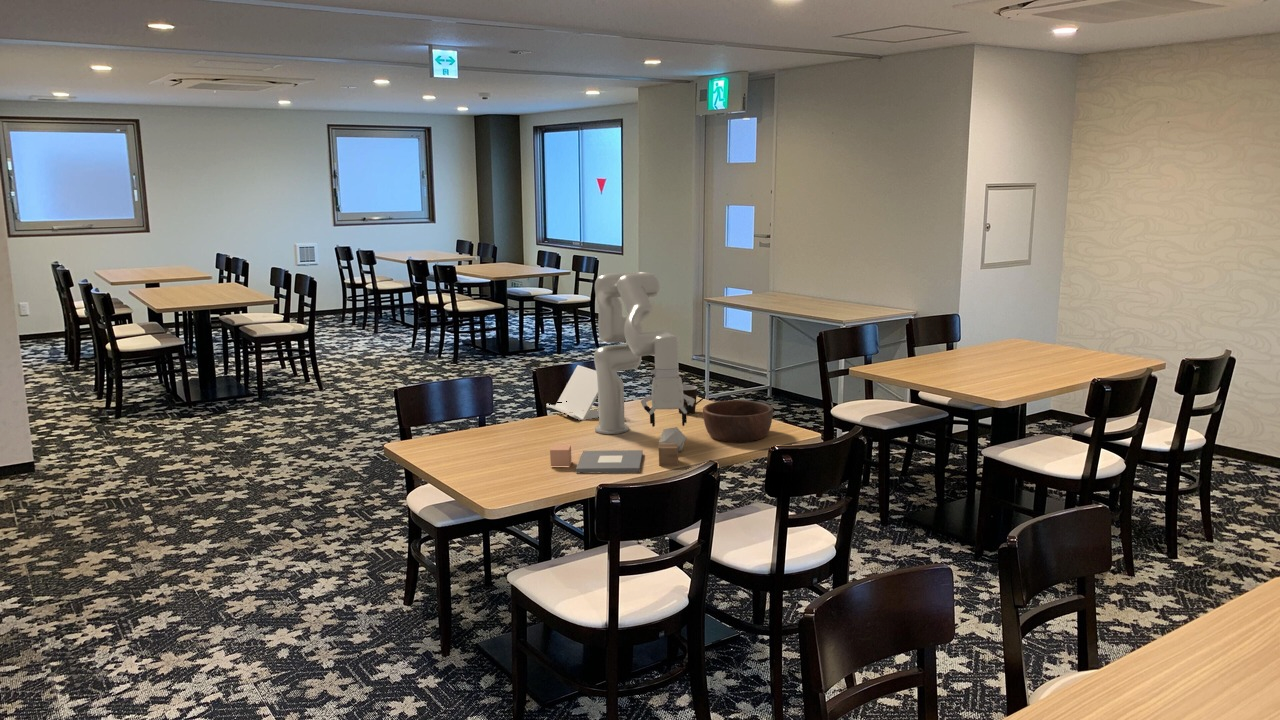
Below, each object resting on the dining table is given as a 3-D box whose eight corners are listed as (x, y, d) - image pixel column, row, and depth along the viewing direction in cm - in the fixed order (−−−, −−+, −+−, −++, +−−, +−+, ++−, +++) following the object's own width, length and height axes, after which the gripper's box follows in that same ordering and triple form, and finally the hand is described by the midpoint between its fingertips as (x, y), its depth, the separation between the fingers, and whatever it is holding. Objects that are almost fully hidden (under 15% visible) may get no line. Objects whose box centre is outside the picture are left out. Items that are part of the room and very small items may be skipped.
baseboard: (583, 455, 318) (583, 450, 318) (642, 454, 317) (642, 450, 317) (576, 473, 299) (576, 468, 298) (639, 472, 298) (639, 467, 297)
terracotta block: (553, 462, 311) (552, 445, 310) (571, 462, 311) (570, 444, 310) (550, 468, 305) (550, 450, 304) (569, 467, 305) (568, 449, 304)
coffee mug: (674, 414, 370) (674, 389, 368) (677, 409, 378) (676, 385, 376) (704, 415, 368) (703, 390, 366) (706, 410, 376) (706, 385, 374)
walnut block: (659, 460, 310) (659, 443, 309) (678, 460, 310) (677, 442, 309) (659, 466, 304) (658, 448, 303) (677, 466, 304) (677, 448, 303)
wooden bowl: (787, 436, 335) (788, 408, 333) (733, 449, 321) (733, 420, 319) (741, 423, 355) (741, 396, 353) (688, 434, 341) (688, 406, 339)
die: (678, 448, 326) (661, 426, 325) (694, 439, 320) (677, 418, 319) (667, 461, 320) (649, 440, 319) (683, 453, 314) (665, 431, 313)
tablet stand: (584, 404, 393) (583, 364, 390) (614, 415, 372) (613, 373, 369) (545, 410, 384) (543, 369, 381) (573, 422, 363) (571, 379, 360)
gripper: (639, 376, 298) (641, 428, 301) (694, 374, 297) (695, 427, 300) (640, 371, 305) (642, 423, 308) (694, 370, 304) (695, 422, 307)
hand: (668, 425), depth 304 cm, fingers open, 9 cm apart
